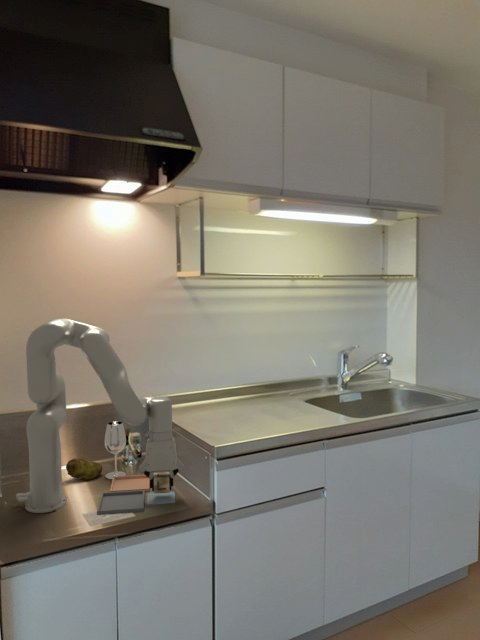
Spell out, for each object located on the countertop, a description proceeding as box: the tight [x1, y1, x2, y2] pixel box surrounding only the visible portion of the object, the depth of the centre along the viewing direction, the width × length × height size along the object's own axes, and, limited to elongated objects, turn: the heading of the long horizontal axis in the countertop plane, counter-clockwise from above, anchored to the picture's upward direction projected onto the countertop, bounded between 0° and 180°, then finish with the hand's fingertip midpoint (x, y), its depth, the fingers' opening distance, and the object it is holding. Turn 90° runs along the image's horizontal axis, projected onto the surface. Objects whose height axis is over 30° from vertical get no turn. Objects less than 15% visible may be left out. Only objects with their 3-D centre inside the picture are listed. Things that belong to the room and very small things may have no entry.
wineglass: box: [104, 420, 127, 481], centre depth 185 cm, size 8×8×20 cm
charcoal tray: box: [96, 490, 146, 515], centre depth 161 cm, size 14×14×2 cm
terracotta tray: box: [109, 474, 150, 493], centre depth 176 cm, size 13×13×2 cm
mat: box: [146, 490, 176, 506], centre depth 165 cm, size 9×9×1 cm
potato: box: [65, 457, 103, 481], centre depth 183 cm, size 8×13×8 cm, turn 111°
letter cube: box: [153, 471, 171, 494], centre depth 165 cm, size 5×5×5 cm
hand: (161, 488), depth 165 cm, fingers closed on letter cube, 4 cm apart
